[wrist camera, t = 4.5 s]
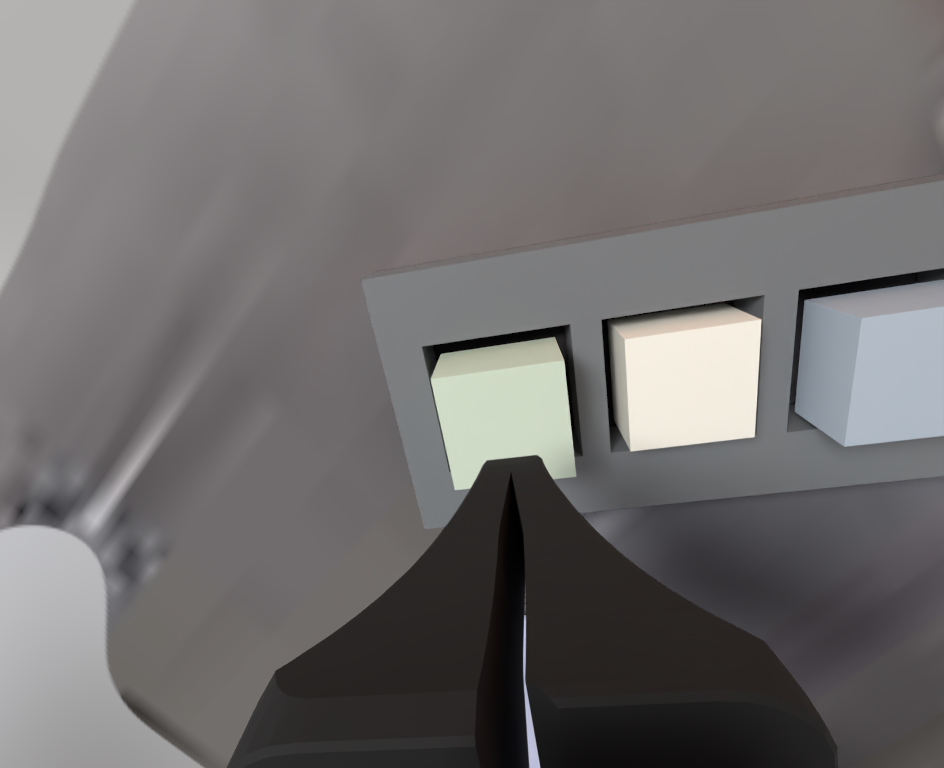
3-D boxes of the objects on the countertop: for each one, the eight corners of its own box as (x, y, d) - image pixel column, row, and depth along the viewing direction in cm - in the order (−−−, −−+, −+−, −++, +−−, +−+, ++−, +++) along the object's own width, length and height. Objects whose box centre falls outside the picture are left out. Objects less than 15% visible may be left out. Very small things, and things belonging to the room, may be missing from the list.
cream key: (720, 405, 17) (755, 437, 15) (613, 419, 18) (630, 451, 15) (723, 302, 16) (761, 319, 14) (607, 320, 16) (624, 339, 14)
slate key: (919, 396, 16) (992, 430, 13) (794, 411, 16) (843, 446, 14) (942, 279, 14) (1028, 294, 12) (804, 299, 15) (861, 318, 12)
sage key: (566, 439, 17) (576, 476, 15) (461, 452, 17) (454, 490, 15) (554, 336, 16) (564, 360, 13) (440, 353, 16) (430, 379, 14)
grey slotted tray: (1104, 425, 17) (1178, 452, 15) (431, 499, 20) (424, 529, 18) (1212, 127, 14) (1325, 115, 12) (376, 271, 17) (360, 280, 15)
